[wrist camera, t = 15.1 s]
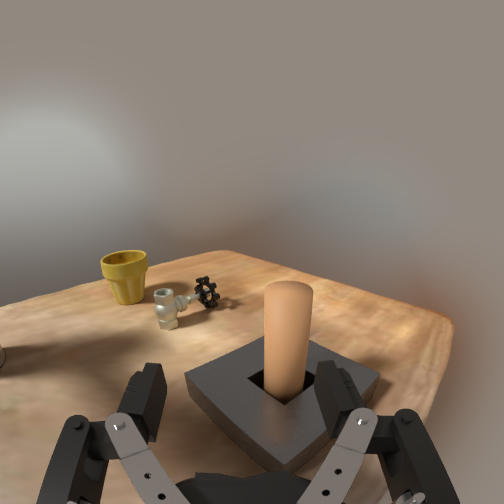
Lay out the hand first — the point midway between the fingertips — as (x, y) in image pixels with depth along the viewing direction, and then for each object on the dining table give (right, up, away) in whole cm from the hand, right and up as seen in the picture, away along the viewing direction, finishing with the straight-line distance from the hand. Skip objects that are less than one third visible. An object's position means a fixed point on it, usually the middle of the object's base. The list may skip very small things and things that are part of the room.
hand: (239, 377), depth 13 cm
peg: (+4, -11, +16) cm, 20 cm away
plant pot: (-26, -4, +43) cm, 51 cm away
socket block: (+4, -11, +16) cm, 20 cm away
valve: (-12, -6, +36) cm, 39 cm away
